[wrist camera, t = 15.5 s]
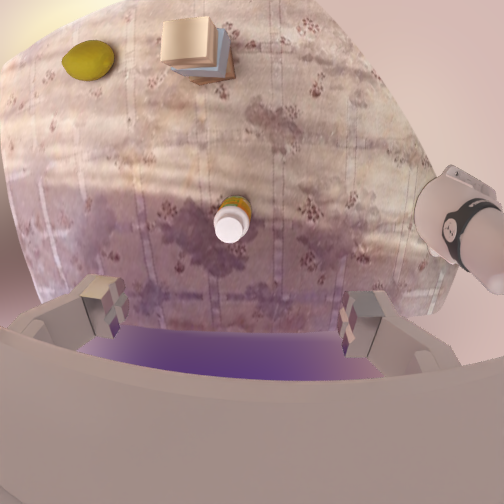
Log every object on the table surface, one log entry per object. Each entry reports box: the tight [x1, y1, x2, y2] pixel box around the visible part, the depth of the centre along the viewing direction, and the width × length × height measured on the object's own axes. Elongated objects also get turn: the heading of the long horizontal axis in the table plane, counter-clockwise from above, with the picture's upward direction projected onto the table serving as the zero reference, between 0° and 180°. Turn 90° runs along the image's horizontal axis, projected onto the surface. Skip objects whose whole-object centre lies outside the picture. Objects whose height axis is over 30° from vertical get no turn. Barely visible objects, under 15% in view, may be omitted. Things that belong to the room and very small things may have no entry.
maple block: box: [160, 16, 218, 70], centre depth 25 cm, size 5×5×6 cm
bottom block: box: [189, 47, 236, 85], centre depth 36 cm, size 6×6×6 cm
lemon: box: [62, 40, 114, 81], centre depth 34 cm, size 11×8×8 cm
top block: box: [171, 28, 231, 78], centre depth 31 cm, size 6×6×6 cm
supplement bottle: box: [214, 196, 252, 243], centre depth 45 cm, size 5×5×10 cm
